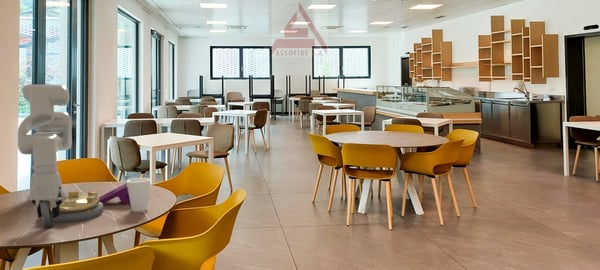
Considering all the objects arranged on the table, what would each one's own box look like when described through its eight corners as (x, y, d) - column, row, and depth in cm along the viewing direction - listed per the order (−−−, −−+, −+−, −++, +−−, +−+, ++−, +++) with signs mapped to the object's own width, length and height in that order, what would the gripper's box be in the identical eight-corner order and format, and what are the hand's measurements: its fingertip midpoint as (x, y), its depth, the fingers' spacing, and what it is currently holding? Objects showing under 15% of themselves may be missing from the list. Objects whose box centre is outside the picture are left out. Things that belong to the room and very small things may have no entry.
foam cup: (131, 207, 196) (130, 178, 195) (153, 206, 197) (152, 177, 196) (125, 213, 187) (123, 182, 186) (147, 212, 188) (146, 182, 186)
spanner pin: (41, 228, 166) (37, 203, 164) (47, 224, 170) (44, 200, 168) (49, 228, 166) (45, 203, 164) (55, 225, 169) (51, 200, 167)
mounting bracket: (103, 219, 198) (141, 199, 202) (93, 203, 196) (131, 183, 200) (105, 213, 207) (142, 194, 211) (96, 198, 205) (133, 179, 209)
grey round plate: (27, 220, 177) (26, 212, 177) (71, 205, 199) (71, 198, 199) (74, 224, 171) (74, 217, 170) (115, 209, 193) (114, 202, 192)
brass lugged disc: (98, 210, 179) (98, 199, 179) (41, 215, 171) (41, 204, 171) (99, 199, 197) (99, 189, 197) (48, 203, 190) (47, 193, 189)
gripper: (16, 171, 163) (20, 219, 165) (62, 171, 162) (65, 219, 164) (30, 167, 170) (33, 213, 172) (73, 167, 169) (76, 214, 171)
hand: (48, 216), depth 168 cm, fingers open, 5 cm apart
